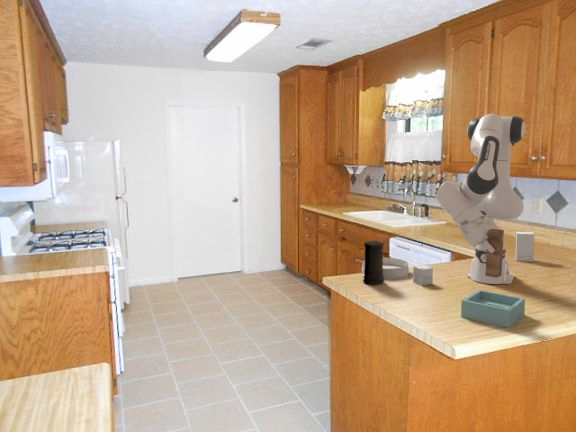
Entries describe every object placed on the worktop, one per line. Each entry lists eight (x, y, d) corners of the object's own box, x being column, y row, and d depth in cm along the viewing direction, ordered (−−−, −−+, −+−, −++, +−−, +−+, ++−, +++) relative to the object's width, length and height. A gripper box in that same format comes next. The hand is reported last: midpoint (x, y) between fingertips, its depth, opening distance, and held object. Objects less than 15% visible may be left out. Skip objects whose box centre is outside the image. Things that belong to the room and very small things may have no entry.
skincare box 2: (532, 259, 238) (534, 231, 236) (533, 262, 233) (535, 233, 231) (514, 258, 241) (516, 231, 239) (515, 261, 236) (516, 233, 234)
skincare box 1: (424, 280, 204) (424, 264, 203) (432, 284, 198) (433, 267, 197) (412, 282, 202) (413, 266, 201) (421, 285, 196) (421, 269, 195)
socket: (478, 305, 171) (479, 289, 170) (524, 314, 160) (525, 298, 159) (461, 316, 159) (461, 300, 159) (509, 328, 149) (510, 310, 148)
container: (384, 280, 205) (385, 241, 203) (383, 286, 197) (383, 245, 194) (364, 279, 208) (364, 240, 205) (362, 284, 199) (362, 244, 197)
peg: (489, 273, 161) (491, 228, 159) (501, 275, 158) (503, 230, 156) (485, 275, 158) (487, 230, 156) (497, 277, 155) (499, 231, 153)
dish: (383, 264, 234) (383, 255, 233) (418, 273, 216) (418, 263, 216) (352, 272, 221) (352, 262, 220) (387, 282, 203) (387, 271, 203)
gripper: (464, 217, 152) (492, 249, 147) (486, 211, 167) (513, 240, 162) (450, 229, 156) (478, 261, 151) (473, 221, 171) (499, 251, 165)
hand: (496, 250), depth 156 cm, fingers closed on peg, 4 cm apart
